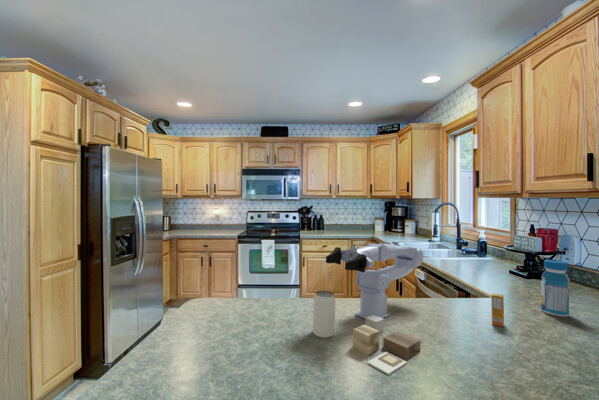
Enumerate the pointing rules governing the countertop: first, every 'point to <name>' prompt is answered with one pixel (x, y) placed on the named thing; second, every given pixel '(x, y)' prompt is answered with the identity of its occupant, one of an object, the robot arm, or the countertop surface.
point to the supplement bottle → (555, 288)
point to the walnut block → (401, 344)
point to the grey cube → (375, 323)
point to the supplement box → (497, 310)
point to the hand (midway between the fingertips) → (336, 262)
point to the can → (324, 314)
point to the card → (387, 363)
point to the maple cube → (365, 339)
